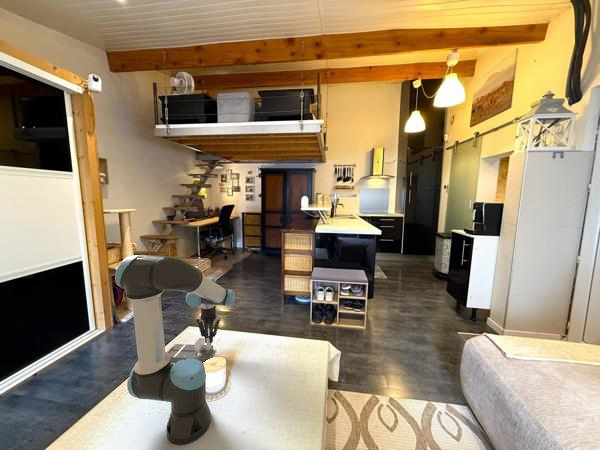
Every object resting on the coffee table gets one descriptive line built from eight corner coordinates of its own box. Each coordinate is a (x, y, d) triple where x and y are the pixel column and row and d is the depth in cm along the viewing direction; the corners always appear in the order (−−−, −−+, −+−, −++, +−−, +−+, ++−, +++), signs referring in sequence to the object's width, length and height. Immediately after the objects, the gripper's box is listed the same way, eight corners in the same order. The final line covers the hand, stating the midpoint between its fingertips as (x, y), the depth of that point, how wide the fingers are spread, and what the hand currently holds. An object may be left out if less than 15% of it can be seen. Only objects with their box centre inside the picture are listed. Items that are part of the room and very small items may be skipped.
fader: (200, 353, 129) (200, 343, 129) (194, 353, 129) (194, 342, 129) (204, 348, 134) (204, 337, 134) (199, 348, 134) (198, 337, 134)
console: (204, 363, 126) (203, 355, 125) (162, 361, 127) (162, 354, 126) (213, 349, 138) (213, 342, 137) (175, 348, 139) (175, 341, 138)
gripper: (222, 303, 133) (223, 344, 135) (199, 303, 134) (200, 343, 135) (217, 309, 125) (218, 353, 127) (193, 308, 126) (194, 351, 128)
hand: (209, 348), depth 131 cm, fingers closed
